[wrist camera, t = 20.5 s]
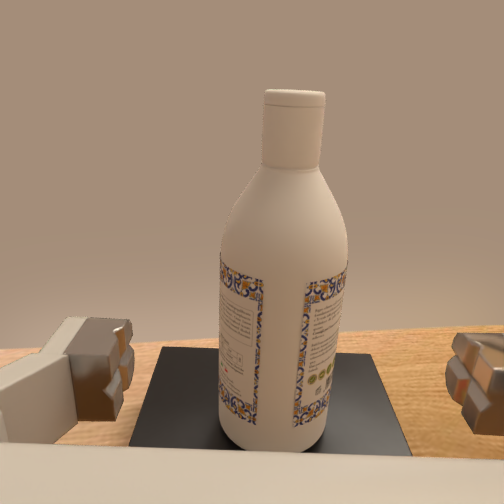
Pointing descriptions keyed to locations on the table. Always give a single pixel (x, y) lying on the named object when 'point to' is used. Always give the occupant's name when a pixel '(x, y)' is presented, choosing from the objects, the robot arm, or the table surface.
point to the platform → (207, 407)
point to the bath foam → (281, 286)
